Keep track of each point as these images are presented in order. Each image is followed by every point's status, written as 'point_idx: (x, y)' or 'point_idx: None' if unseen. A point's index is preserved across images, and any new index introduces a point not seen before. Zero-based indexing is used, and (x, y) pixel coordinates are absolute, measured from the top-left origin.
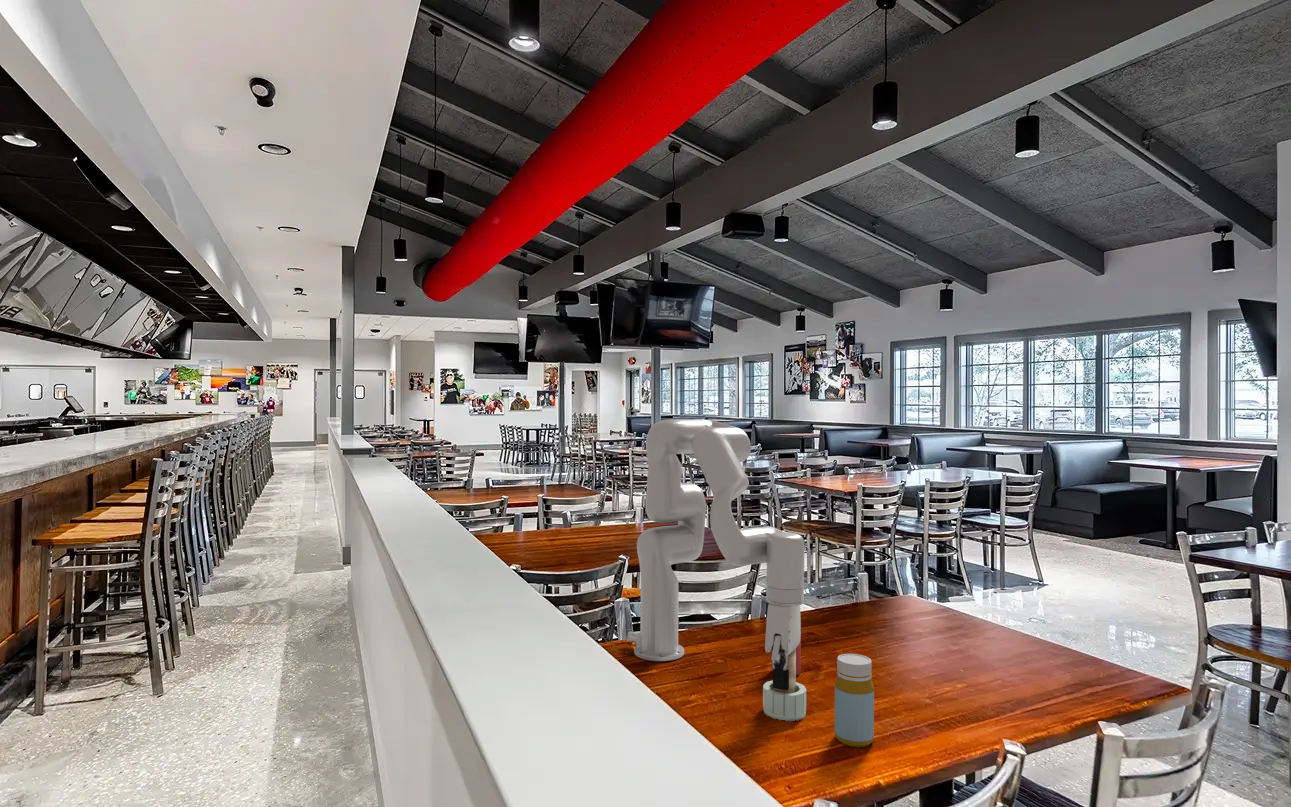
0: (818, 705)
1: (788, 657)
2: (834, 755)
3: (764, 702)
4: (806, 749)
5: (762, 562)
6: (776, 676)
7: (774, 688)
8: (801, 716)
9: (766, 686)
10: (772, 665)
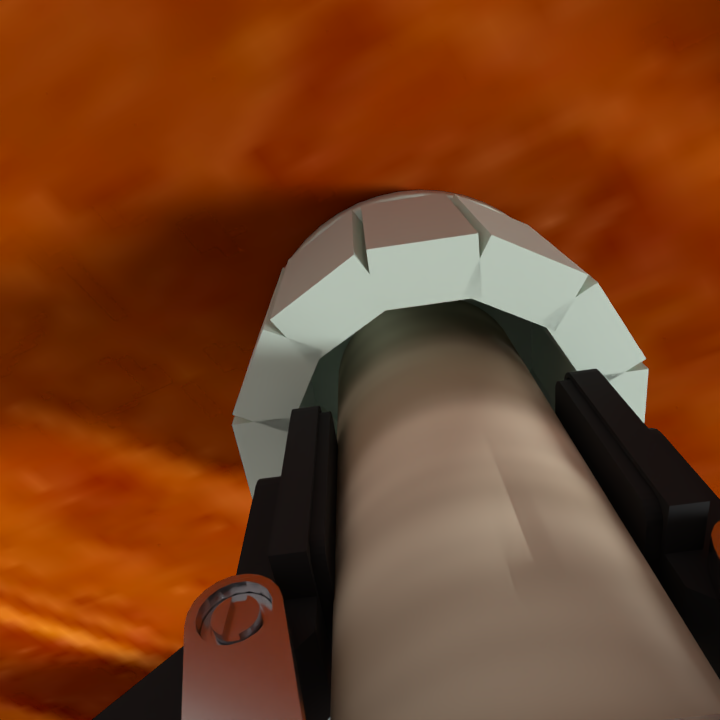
0: None
1: None
2: (95, 694)
3: (301, 259)
4: (46, 603)
5: None
6: (244, 547)
7: (362, 376)
8: None
9: (362, 291)
10: None
